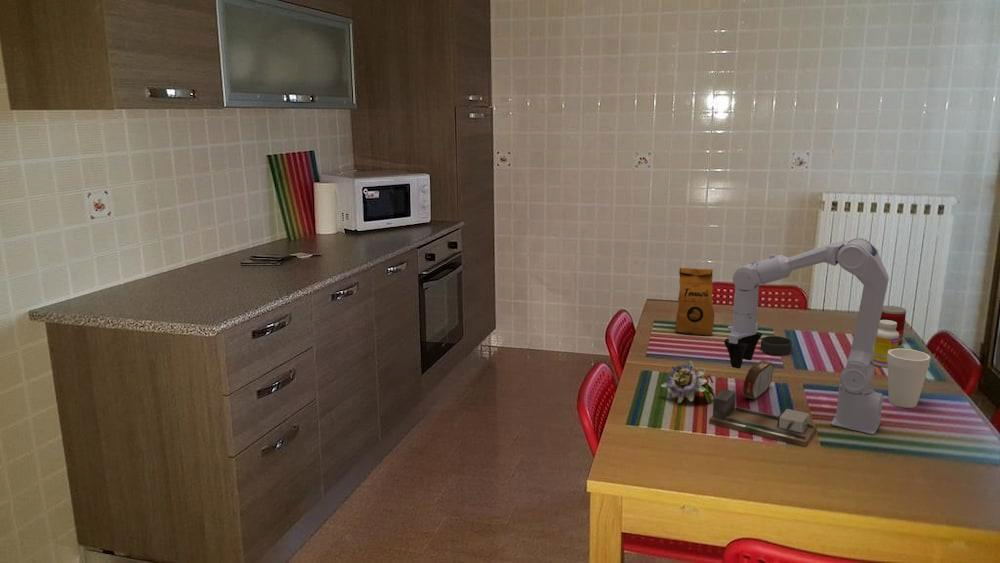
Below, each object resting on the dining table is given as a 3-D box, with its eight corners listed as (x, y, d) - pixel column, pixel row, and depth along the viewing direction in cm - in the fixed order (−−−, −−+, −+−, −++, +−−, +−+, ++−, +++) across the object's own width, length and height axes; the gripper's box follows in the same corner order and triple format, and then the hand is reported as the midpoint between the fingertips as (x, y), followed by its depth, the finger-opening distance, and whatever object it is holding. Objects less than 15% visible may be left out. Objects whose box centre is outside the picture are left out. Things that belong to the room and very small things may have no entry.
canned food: (903, 340, 237) (907, 307, 234) (900, 347, 230) (905, 313, 228) (876, 336, 241) (880, 304, 238) (873, 343, 234) (877, 309, 232)
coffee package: (712, 338, 240) (716, 272, 235) (673, 334, 244) (676, 270, 239) (714, 329, 249) (718, 266, 244) (677, 326, 253) (680, 264, 248)
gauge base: (816, 431, 172) (818, 407, 170) (805, 447, 164) (807, 422, 162) (723, 409, 184) (724, 387, 183) (709, 423, 176) (710, 400, 175)
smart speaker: (795, 356, 223) (796, 344, 222) (765, 356, 223) (766, 344, 222) (784, 347, 231) (785, 335, 230) (756, 347, 232) (757, 335, 231)
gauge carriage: (808, 426, 170) (809, 413, 170) (798, 439, 164) (800, 426, 163) (783, 420, 174) (784, 408, 173) (773, 433, 167) (774, 420, 166)
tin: (762, 384, 200) (764, 355, 198) (773, 387, 198) (776, 357, 196) (740, 401, 189) (743, 370, 187) (752, 404, 187) (755, 373, 185)
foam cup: (889, 392, 194) (895, 346, 191) (928, 402, 187) (935, 354, 184) (876, 403, 187) (882, 354, 184) (916, 413, 181) (923, 363, 178)
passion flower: (679, 422, 190) (653, 385, 189) (690, 400, 198) (664, 365, 198) (716, 407, 183) (689, 369, 182) (725, 385, 192) (699, 348, 191)
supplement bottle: (889, 369, 211) (895, 326, 208) (866, 363, 216) (871, 321, 213) (899, 364, 215) (904, 322, 212) (875, 358, 220) (880, 317, 217)
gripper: (740, 303, 192) (737, 352, 196) (718, 315, 181) (715, 367, 185) (767, 307, 188) (763, 358, 191) (746, 320, 177) (742, 373, 180)
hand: (741, 363), depth 188 cm, fingers open, 7 cm apart
